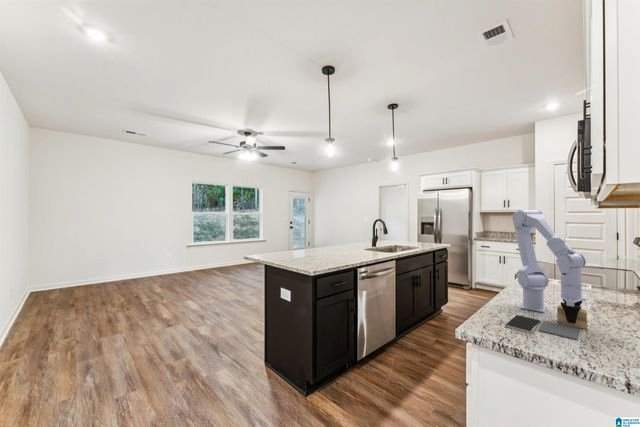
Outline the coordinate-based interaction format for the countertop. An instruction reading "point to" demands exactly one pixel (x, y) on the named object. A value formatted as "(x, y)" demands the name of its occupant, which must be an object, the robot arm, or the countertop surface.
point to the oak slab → (580, 320)
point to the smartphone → (523, 323)
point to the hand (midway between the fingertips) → (572, 320)
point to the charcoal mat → (559, 329)
